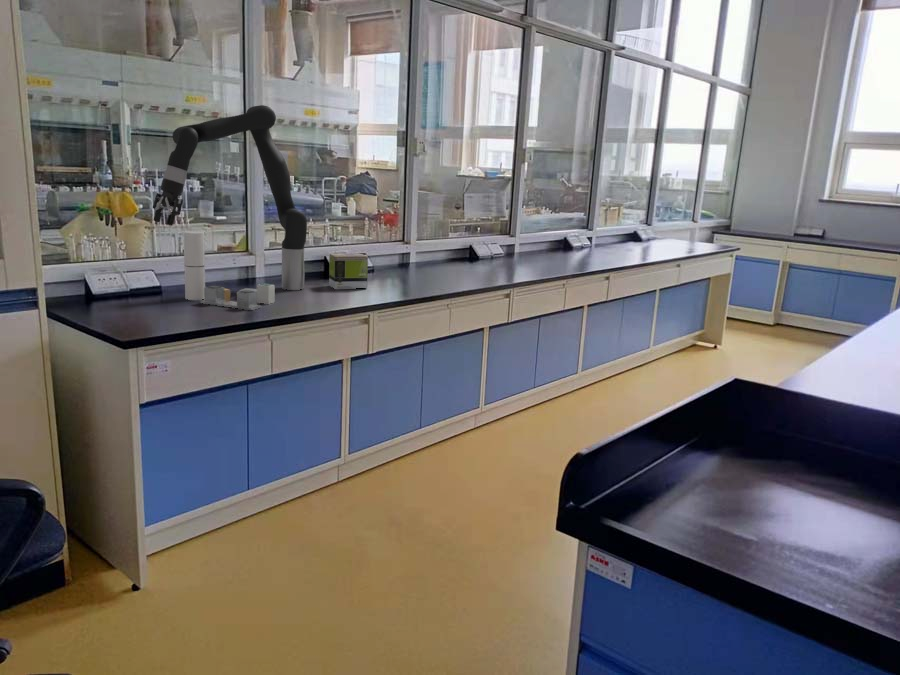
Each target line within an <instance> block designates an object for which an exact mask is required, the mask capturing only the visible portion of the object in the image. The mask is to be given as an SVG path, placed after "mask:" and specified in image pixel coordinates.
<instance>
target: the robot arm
mask: <svg viewBox="0 0 900 675" xmlns="http://www.w3.org/2000/svg"><path fill="white" fill-rule="evenodd" d="M276 120H277V116H276V112H275V111H274V109H272V108H271V107H269V106H268V105H255V106H251V107H249V108H248V109H247V110H246V112H245V113H242V114H238V115H233V116H227V117H221V118H214V119H212V120H207V121H203V122H200V123H195V124H190V125H184V126H179V127H177V128H175V129H174V130H173V133H172V139H173V142H174V143H175V144H176V145H175V148H174V150H173V151H171V153H170V155H169V157H168V160H167V165H166V168H165V170H164V172H163V176H162V180H161V185H160V190H161V191H162V192H161V193H160V192H157V193H156V194H155V197H154V201H153V204H152V209H154V210H155V213H154V215H153V216H154V217H153V222H156V223H160V222H161V219H162V214H163V211H164V210H166V209H167V211H168V216H167V218H166V219H167V220H166V222H165V224H166V225H167V226H171V227H172V226H173V225H174V223H175V218H176V216H180V215H181V211H182V208H183V207H182V206H183V202H184V199H183V198H180V197H181V196H182V194H183V192H184V188H185V184H186V180H187V175H188V173H187V172H188V170H189V167H190V166H189V165H190V161H191V159H192V157H193V155H194V153H195V151H196V149H197V146H198V144H199V143H202V142H206V143H207V142H211V141H216V140H221V139H223V138H226V137H229V136H232V135H236V134H239V133H244V132H250V134H251V136H252V138H253V141H254V143H255V145H256V148H257V152H258V155H259V158H260V162H261V165H262V167H263V171H264V174H265V178H266V180H267V182H268V185H269V188H270V191H271V194H272V196H273V199H274V203H275V207H276V212H277V215H278V220H279V224H280V226H281V228H283V229H284V230H285V231H284V239H283V240H282V242H281V289H282V290H286V289H287V291H300V289H302V290H304V289H303V288H305V273H306V272H305V244H306V241H307V234H308V222H307V217H306V214H305V213H304V212H303V211H301V210H297V208H296V206H295V203H294V201H293V197H292V193H291V191H292V188H291V176H290V171H289V169H288V165H287V162H286V160H285V157H284V156H283V153H281V151H280V150H279V149H278V147H277V146H276V144H275V143H274V140H273V138H272V134H271V132H270V129H271V128H272V127H274V126H275V124H276V122H277V121H276Z"/></svg>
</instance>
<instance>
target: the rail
mask: <svg viewBox="0 0 900 675" xmlns="http://www.w3.org/2000/svg"><path fill="white" fill-rule="evenodd" d="M224 288H225V286H218V285H209V286H205V287H204V297H205V299H204V300H199V303H200V304H202V303H203V304H202V305H208V304H210V306H215V305H217V307H222V306H224V307H223V308H228V307H232V308H231V309H235V308H238V309H237V310H242V309H244V310H243V311H248V310H253V311H256V310H255V309H257V310H259V309H258V308H260V309H262V305H260V304H258V303H257V292H255V291H249V290H243V291H239V290H238V291H237V292H236V301H233V300H225V291H224Z"/></svg>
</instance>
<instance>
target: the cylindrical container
mask: <svg viewBox="0 0 900 675" xmlns="http://www.w3.org/2000/svg"><path fill="white" fill-rule="evenodd" d="M183 257H184V258H183V260H184V261H183V262H184V263H183V264H184V295H185V296H184V298H185V300H187V299H188V301H201V300H202V299H204V300H205V297H204V287H206V263H205V261H206V260H205V259H206V256H205V232H204V231H198V230H196V231H195V230H186V231H183Z"/></svg>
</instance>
